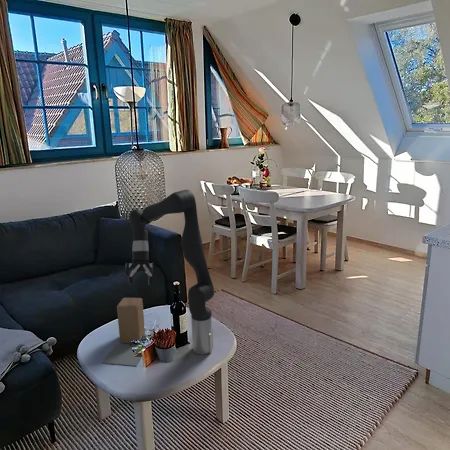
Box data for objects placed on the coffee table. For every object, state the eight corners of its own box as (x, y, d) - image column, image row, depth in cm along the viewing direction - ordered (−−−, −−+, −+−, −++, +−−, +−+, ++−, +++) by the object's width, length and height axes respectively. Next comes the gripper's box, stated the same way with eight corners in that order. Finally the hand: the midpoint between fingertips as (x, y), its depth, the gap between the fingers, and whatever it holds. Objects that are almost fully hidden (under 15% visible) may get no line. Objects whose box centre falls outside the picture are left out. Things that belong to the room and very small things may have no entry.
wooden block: (145, 333, 201) (142, 297, 195) (139, 344, 191) (136, 307, 185) (126, 332, 202) (123, 296, 196) (119, 343, 192) (115, 306, 186)
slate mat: (147, 348, 188) (147, 347, 188) (136, 366, 175) (136, 365, 175) (115, 345, 191) (115, 344, 190) (102, 363, 177) (102, 362, 177)
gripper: (126, 249, 185) (126, 285, 183) (157, 250, 191) (157, 284, 188) (124, 251, 192) (123, 285, 190) (153, 251, 198) (153, 284, 195)
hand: (140, 284), depth 189 cm, fingers open, 8 cm apart
